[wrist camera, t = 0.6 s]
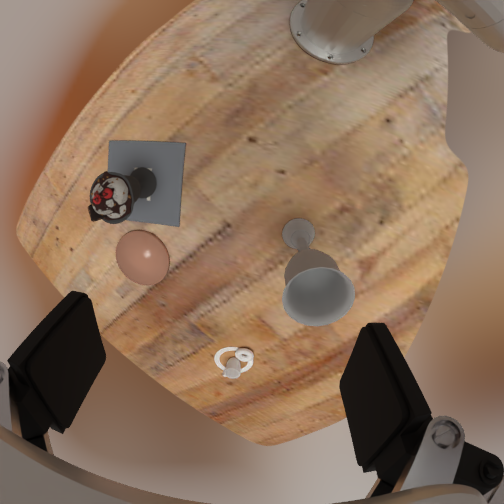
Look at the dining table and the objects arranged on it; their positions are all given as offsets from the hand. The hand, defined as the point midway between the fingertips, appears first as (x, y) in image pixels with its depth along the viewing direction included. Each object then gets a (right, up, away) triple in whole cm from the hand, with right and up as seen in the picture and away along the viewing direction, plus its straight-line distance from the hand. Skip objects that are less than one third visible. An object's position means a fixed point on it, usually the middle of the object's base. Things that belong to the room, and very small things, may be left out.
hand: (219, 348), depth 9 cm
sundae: (-16, +14, +31) cm, 38 cm away
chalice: (+8, +6, +34) cm, 35 cm away
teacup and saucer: (0, -19, +46) cm, 50 cm away
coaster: (-18, +2, +37) cm, 41 cm away
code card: (-16, +14, +31) cm, 38 cm away
